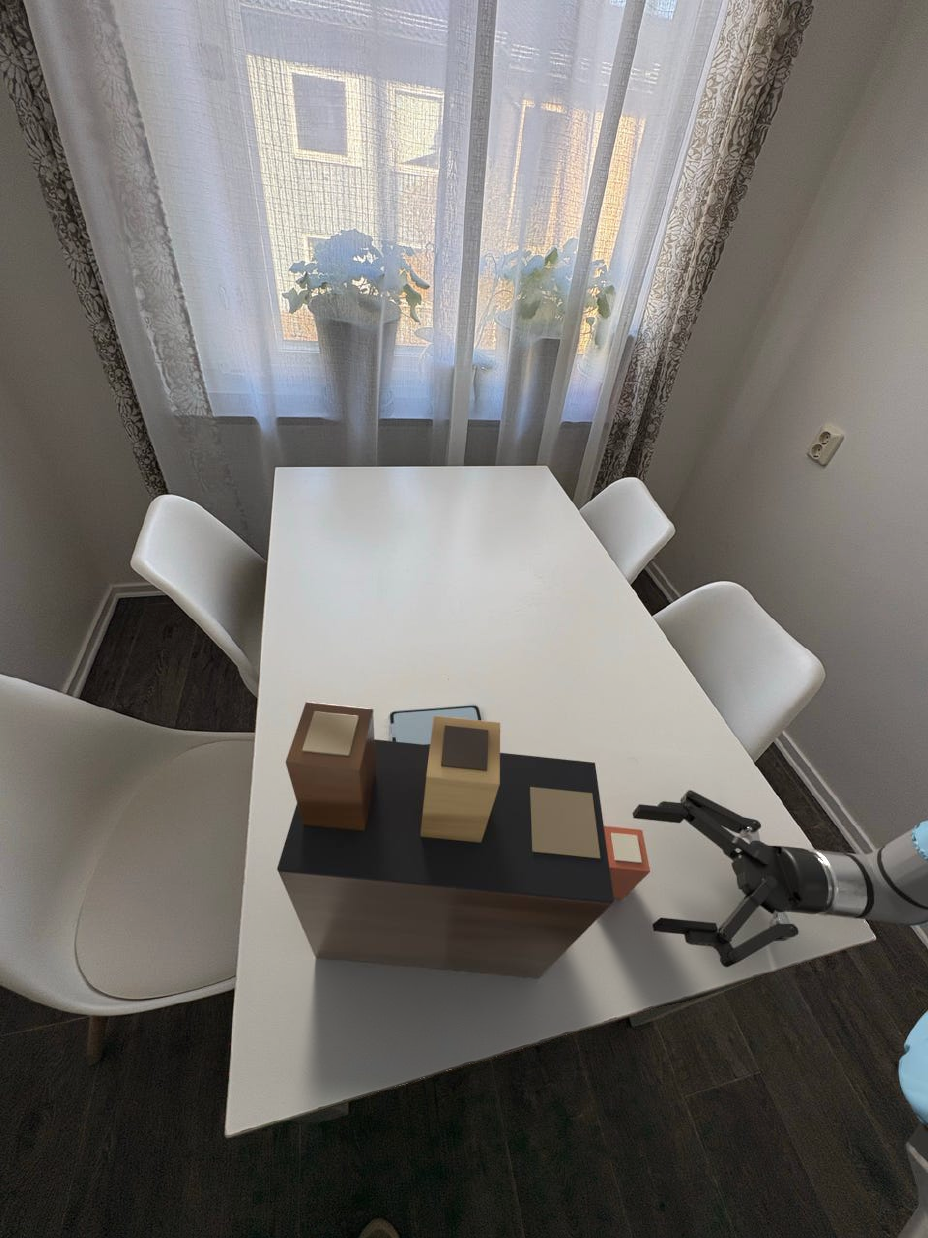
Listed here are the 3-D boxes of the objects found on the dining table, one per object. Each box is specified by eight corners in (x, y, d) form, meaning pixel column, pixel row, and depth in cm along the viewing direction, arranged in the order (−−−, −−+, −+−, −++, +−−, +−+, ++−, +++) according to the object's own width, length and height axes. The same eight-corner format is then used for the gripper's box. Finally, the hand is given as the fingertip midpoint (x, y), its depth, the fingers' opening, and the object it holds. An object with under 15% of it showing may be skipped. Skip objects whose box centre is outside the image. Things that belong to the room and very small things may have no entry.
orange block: (623, 899, 67) (651, 871, 59) (585, 895, 66) (608, 867, 59) (617, 859, 70) (642, 828, 63) (581, 856, 70) (602, 824, 63)
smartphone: (488, 742, 80) (391, 751, 77) (487, 745, 81) (391, 754, 78) (478, 703, 85) (388, 710, 82) (478, 707, 86) (388, 714, 83)
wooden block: (364, 831, 41) (359, 768, 34) (302, 825, 41) (284, 760, 34) (376, 774, 45) (373, 707, 38) (319, 768, 45) (305, 699, 38)
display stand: (539, 979, 59) (612, 904, 40) (315, 958, 59) (277, 871, 39) (535, 870, 68) (594, 764, 48) (339, 851, 67) (318, 735, 48)
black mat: (612, 904, 40) (615, 902, 39) (277, 871, 39) (276, 868, 39) (594, 764, 48) (595, 761, 48) (318, 735, 48) (317, 732, 47)
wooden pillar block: (481, 843, 42) (500, 783, 34) (420, 836, 42) (426, 775, 34) (483, 785, 45) (500, 720, 38) (426, 779, 45) (433, 713, 38)
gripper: (836, 1007, 59) (655, 990, 58) (760, 800, 76) (620, 785, 76) (881, 995, 53) (681, 976, 53) (788, 776, 71) (638, 759, 71)
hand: (645, 863), depth 64 cm, fingers open, 13 cm apart
